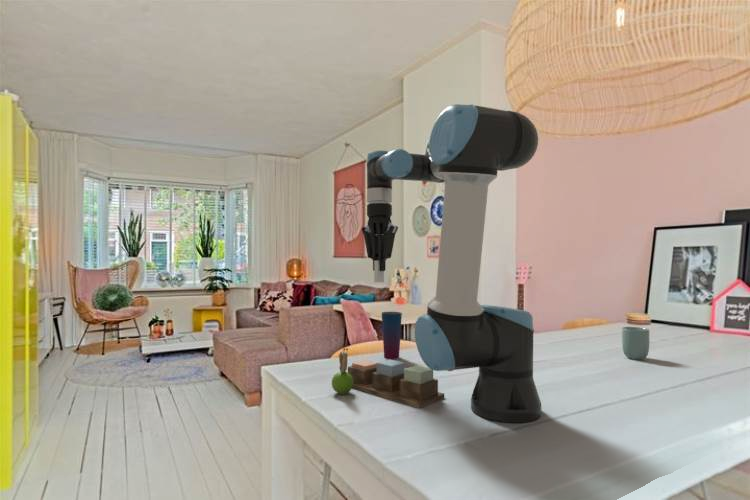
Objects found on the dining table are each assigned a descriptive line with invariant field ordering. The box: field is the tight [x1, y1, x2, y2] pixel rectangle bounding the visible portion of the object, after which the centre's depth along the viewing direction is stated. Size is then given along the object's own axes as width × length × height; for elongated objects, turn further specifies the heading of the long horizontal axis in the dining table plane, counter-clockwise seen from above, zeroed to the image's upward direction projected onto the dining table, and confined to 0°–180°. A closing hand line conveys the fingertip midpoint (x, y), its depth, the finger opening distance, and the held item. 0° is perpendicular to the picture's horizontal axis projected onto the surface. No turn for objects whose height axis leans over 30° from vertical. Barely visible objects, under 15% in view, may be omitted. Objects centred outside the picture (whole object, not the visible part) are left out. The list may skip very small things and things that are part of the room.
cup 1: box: [381, 311, 403, 360], centre depth 151 cm, size 7×7×15 cm
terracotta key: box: [351, 359, 378, 371], centre depth 121 cm, size 5×5×3 cm
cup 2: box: [621, 326, 650, 361], centre depth 151 cm, size 8×8×10 cm
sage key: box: [404, 364, 434, 385], centre depth 108 cm, size 5×5×3 cm
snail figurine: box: [331, 347, 353, 395], centre depth 112 cm, size 5×6×12 cm
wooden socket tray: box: [347, 365, 445, 409], centre depth 115 cm, size 26×10×5 cm, turn 47°
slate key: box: [377, 359, 405, 377], centre depth 115 cm, size 5×5×3 cm
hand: (379, 282), depth 135 cm, fingers closed
